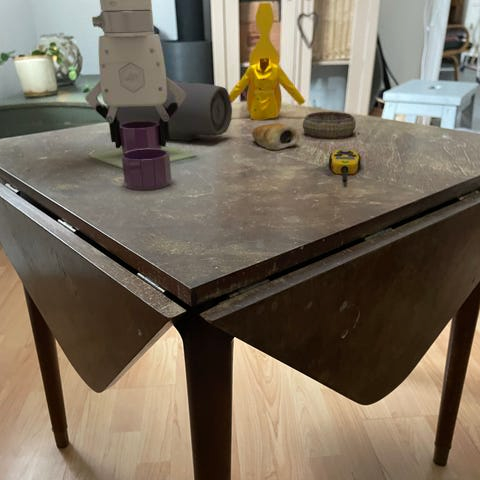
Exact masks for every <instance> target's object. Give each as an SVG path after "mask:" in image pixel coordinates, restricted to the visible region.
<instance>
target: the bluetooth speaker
mask: <svg viewBox="0 0 480 480" xmlns="http://www.w3.org/2000/svg"><path fill="white" fill-rule="evenodd" d="M170 80H171V79H170ZM171 81H172V82H173V83H175V84H176V85H177V86H178V87H179V88H180V89H182V90H183V91H184V92H185V93H186V98H185V99H184V100H183V102H182V103H181V105H180V106H179V107H178V108H177V110H176V111H175V112H174V114H173V115H172V116H171V117H170V118H169V120H168V124H169V136H170V139H171V140H180V141H181V140H182V141H191V140H195V139H196V138H197V136H199V137H200V136H202V137H203V136H205V137H213V136H222V135H224V134H225V133H226V132H227V131H228V129H229V127H230V126H231V122H232V116H233V106H232V103H231V100H230V96H229V94H230V93H229V91H228V89H227V88H226V87H224V86H220V85H215V84H209V83H199V82H194V81H180V80H171ZM174 99H175V95H174V94H173V93H172V92H171V91H169V90H168V94H167V100H166V101H165V102H164V104H165V106H166V108H167V107H168V106H169V105H170V104H171V103H172V101H173V100H174ZM107 108H108V109H109V108H110V106H108V105H107ZM116 116H117V120H118V121H120V124H122V123H126V122H131V121H155V122H159V121H160V115H159V113H158V111H157V110H156V108H155V106H132V107H119V109H118V112H117V115H116Z"/></svg>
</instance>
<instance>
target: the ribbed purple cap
mask: <svg viewBox="0 0 480 480" xmlns="http://www.w3.org/2000/svg"><path fill="white" fill-rule="evenodd" d="M121 156H122V164H123V170H122V171H123V179H124V180H123V181H124V186H125V187H126V188H128V189H130V190H134V191H154V190H159V189H164V188H166V187H168V186H170V185H171V184H172V171H171V169H172V168H171V162H170V157H169V152H168V151H166V150H163V149H155V148H145V149H135V150H130V151H127V152H125V153H123V154H121Z"/></svg>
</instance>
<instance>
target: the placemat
mask: <svg viewBox="0 0 480 480" xmlns="http://www.w3.org/2000/svg"><path fill="white" fill-rule="evenodd" d="M162 149H163V150H166V151H168V152H169V157H170V163H173V162H178V161H182V160H187V159H190V158H196V157H197V154H195V153H192V152H188V151H184V150H181V149H177V148H174V147H170V146H167V145H166V146H165V147H162ZM121 154H123V152H122V147H120V148H115V149H111V150H107V151H106V150H105V151H101V152H97V153H92V154H88V157H89V158H92V159H94V160H98V161H100V162H103V163H105V164H109V165H111V166H114V167H116V168H119V169H123V164H122V156H121Z"/></svg>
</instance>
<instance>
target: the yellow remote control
mask: <svg viewBox="0 0 480 480" xmlns="http://www.w3.org/2000/svg"><path fill="white" fill-rule="evenodd" d="M361 162H362V158H361V155H360V153H358V152H357V151H356V150H353V149H337V150H334V151H333V152H331V153H330V154H329V157H328V168H329V170H331V171H332V172H333V173H335V174H336V175H342V183H347V181H348V175H354V174H356V173H357V172H358V171H359V170H360V168H361Z"/></svg>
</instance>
